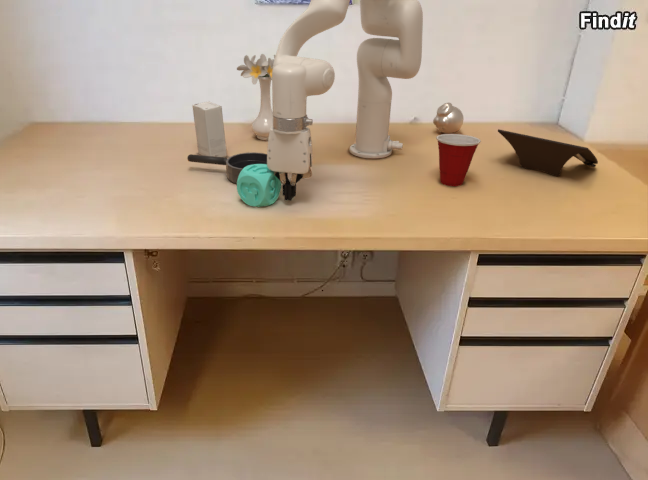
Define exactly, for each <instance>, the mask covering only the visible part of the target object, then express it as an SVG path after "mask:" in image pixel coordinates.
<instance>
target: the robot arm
mask: <svg viewBox="0 0 648 480" xmlns="http://www.w3.org/2000/svg"><path fill="white" fill-rule="evenodd" d="M309 1H310V2H309V4H308V6H307V8H306V9H305V10H304V11H302V12H301V14H299V16H297V17H296V18H295V20H293V22H292V23H291V24H290V25H289V26H288V28H287V29H286V30H285V31H284V33H283V34H282V36H281V38H280V40H279V43H278V46H277V49H276V53H275V55H276V56H275V60H274V64H273V71H272V80H271V91H272V92H271V93H272V94H271V96H272V97H271V98H272V99H271V100H272V102H271V106H272V112H273V126H272V127H271V128H270V132H269V139H268V140H267V151H266V154H267V167H268V169H267V173H268V172H274V176H276V177H277V178H278V179H279V180H280V181H281V185H282V196H284V201H285V202H286V201H288V202H292V200H293V199H294V198H295V197H296V196H297V183H299V182H300V181H301V180H302V179H311V177H312V176H313V172H312V167H313V163H314V162H313V158H314V157H313V141H312V134H311V128H310V127H309V126H313V122H314V119H313V118H309V116H308V114H307V100H308V99H307V98H308V97H312V96H321V95H324V94H326V93H328V92H329V91H330V89H331V88H332V87H333V85H334V82H335V78H336V75H335V69H334V67H333V65H332V64H331V63H330V62H328V61H327V60H324V59H318V58H310V57H304V56H298V54H299V52H300V50H301V49H302V47H303V46H304V44H306V43H307V42H308V41H309V40H310V39H312V38H313V37H315V36H317V35H319V34H321V33H324V32H326V31H329V30H330V29H332V28H335V27H337V26H339V25H340V24H342V23H343V22H344V21H345V19H346V16H347V13H348V9H349V5H350V3H351V0H309ZM359 11H360V14H359V15H360V24H361V28H362V31H363V32H364V33H366V34H368V35H370V36H377V37H371V38H370V37H369V38H367V39H365V40H363V41H362V42H361V43H360V44H359V46H358V48H357V51H356V66H357V75H358V90H357V107H356V123H355V124H356V125H355V140H354V141H355V142H354V143H353V144H351V145H350V146H349V153H350V154H351V155H353V156H355V157H357V158H361V159H370V160H371V159H375V160H376V159H383V158H386V157H387V158H388V157H389V156H391V155H392V154H393V150H398V151H399V150H400V151H402V150H403V146H404V144H403V142H400V140H392V139H391V135H390V134H389V132H390V122H391V121H390V120H391V110H392V109H391V108H392V100H393V90H392V86H391V83H390V81H389V79H388V78H392V79H393V78H394V79H401V80H411V79H413V78H414V77H416V76H417V75H418V73H419V71H420V68H421V64H422V56H423V28H424V15H423V8H422V5H421V3H420V1H419V0H359ZM383 37H389V38H383ZM393 38H397V39H393ZM289 174H291V176H290V179H289Z"/></svg>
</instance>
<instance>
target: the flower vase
mask: <svg viewBox="0 0 648 480" xmlns="http://www.w3.org/2000/svg"><path fill="white" fill-rule="evenodd" d="M275 56H276V54H273V59H272V58H271V57H268V58H267V56H266V55H265V54H264V53H261V54H260V55H259V58H258V59H257V60H256V58H257V56H256V54H254V55H253V56H251V58H250V57H249V55H248V54H246V55H244V57H243V63H244V64H241V65H238V66H237V67H236V71H241V73H240V77H243V78H244V79H249V78H251V83H252V85H256V84H257V83H258V82H259V83H258V84H259V89H260V108H259V112H258V115H257V116H256V117H255V119H254V120H253V121H252V124H251V130H252V132H253V134H255V135H256V138H257V139H258V140H261V141H268V139H269V132H270V128H271V127H272V126H273V108H272V102H271V100H272V99H271V86H272V71H273V64H274V60H275Z"/></svg>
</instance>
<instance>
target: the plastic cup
mask: <svg viewBox="0 0 648 480" xmlns="http://www.w3.org/2000/svg"><path fill="white" fill-rule="evenodd" d="M435 138H436V140H437V145H438V165H439V166H438V169H439V181H440V183H441V184H442V185H443V186H447V187H460V186H462V185H463V184H464V182H465V179H466V176H467V173H468V171H469V170H470V167H471V163H472V161H473V158H474V155H475V153H476V150H477V148H478V146H479V145H480V143H481V142H482V140H481V138H478V137H476V136H473V135H468V134H461V133H453V134H443V133H442V134H439V135H437V136H436V137H435Z"/></svg>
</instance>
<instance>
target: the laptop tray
mask: <svg viewBox="0 0 648 480" xmlns="http://www.w3.org/2000/svg"><path fill="white" fill-rule="evenodd" d="M497 132H498V133H499V134H500V135H501V136H502V137H503V138H504V139H505V140H506V141H507V142H508V144H510V146H511V147H512V149H513V150H514V152H515V154H516V156H517V158H518V161H519V165H520V167H521V168H522V169H525V170H533V171H539V172H543V173H546V174H549V175H552V176H555V177H560V175H561V173H562V170H563V168H564V166H565V165H566V164H567V162H568V161H570V160H571V159H572V158H573V157H574V159H575V158H576V159H577V160H578V161H580V162H582V163H583V165H585V166H588V167H591V168H596V166H597V165H598V164H599V161H598V158H597V157H596V155H595V154H594V153H593V152H592V151H591V150H590V148H589V147H585V146H580V145H576V144H572V143H567V142H561V141H558V140H552V139H549V138H548V139H547V138H543V137H538V136H534V135H533V136H532V135H528V134H523V133H518V132H515V131H508V130H503V129H499V128H498V129H497Z"/></svg>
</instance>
